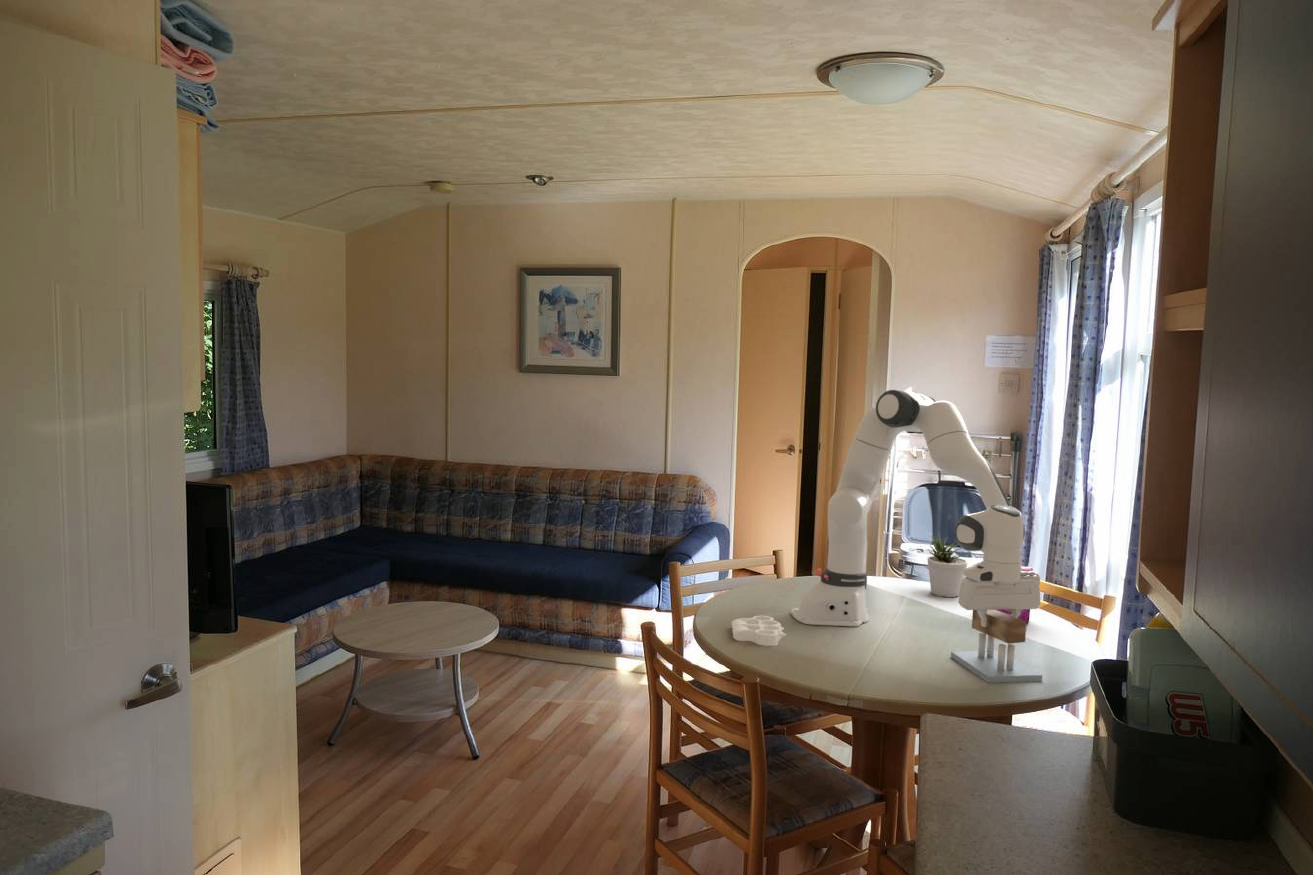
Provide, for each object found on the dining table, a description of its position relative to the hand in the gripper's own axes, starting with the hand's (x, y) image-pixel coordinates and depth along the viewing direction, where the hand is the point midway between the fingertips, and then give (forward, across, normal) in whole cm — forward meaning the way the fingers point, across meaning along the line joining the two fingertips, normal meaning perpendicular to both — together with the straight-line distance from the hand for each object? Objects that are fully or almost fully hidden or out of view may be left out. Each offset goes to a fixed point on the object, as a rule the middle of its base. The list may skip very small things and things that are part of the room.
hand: (998, 626), depth 216 cm
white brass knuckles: (+11, +52, -30) cm, 61 cm away
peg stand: (+11, 0, 0) cm, 11 cm away
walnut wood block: (+2, 0, 0) cm, 2 cm away
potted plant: (+11, -23, -70) cm, 74 cm away
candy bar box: (+11, -28, -40) cm, 50 cm away
